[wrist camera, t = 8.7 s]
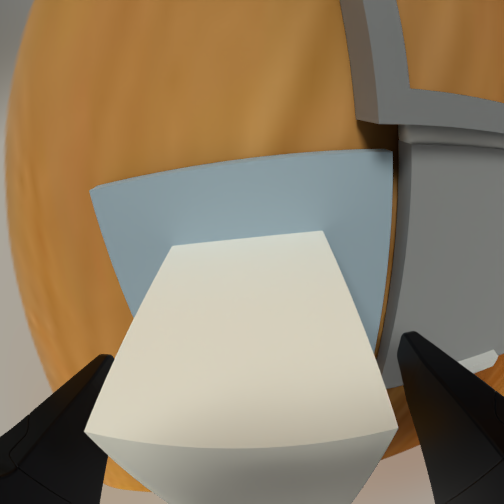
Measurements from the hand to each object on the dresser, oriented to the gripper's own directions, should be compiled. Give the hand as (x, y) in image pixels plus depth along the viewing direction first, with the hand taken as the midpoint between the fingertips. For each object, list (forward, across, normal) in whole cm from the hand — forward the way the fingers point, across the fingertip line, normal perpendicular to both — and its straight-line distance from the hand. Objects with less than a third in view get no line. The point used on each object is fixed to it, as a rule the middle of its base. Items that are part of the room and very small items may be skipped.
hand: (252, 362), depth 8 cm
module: (+3, 0, 0) cm, 3 cm away
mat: (+4, 0, 0) cm, 4 cm away
